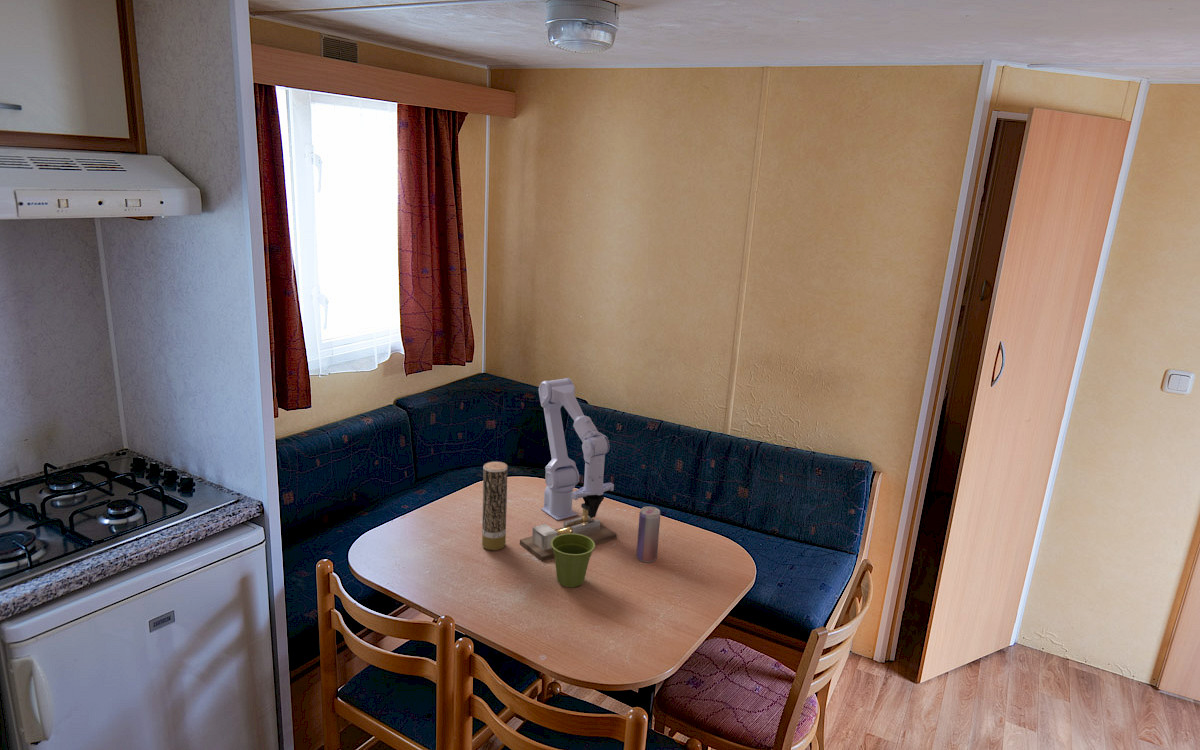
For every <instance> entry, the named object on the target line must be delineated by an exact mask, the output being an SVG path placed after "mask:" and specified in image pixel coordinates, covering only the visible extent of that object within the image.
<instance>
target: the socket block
mask: <svg viewBox="0 0 1200 750" xmlns="http://www.w3.org/2000/svg"><path fill="white" fill-rule="evenodd" d="M555 530H556V529H553V528H552V527H551V526H549V525H548V524H547V523H544V524H540V525H536V526H533V527H532V534H531V536H532V542H534V543H535V544H536V545H538V546H539V547H540V548H542V549H543V550H547V549H551V548H552V546H551V541H552V539H553V538H554V537H556V536H558V532H556V531H555Z"/></svg>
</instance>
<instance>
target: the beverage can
mask: <svg viewBox="0 0 1200 750" xmlns="http://www.w3.org/2000/svg"><path fill="white" fill-rule="evenodd" d="M638 516H639V517H638V527H637V528H638V530H637V543H636V555H635V556H636V558H637V559H638V561H641V562H642V563H653V562H654V561H656V559H657V558H658V551H659V538H660V537H659V535H660V523H661V510H660V509H659V508H657V507H654V506H651V505H650V506H643V507H642V508H640V511H639V515H638Z"/></svg>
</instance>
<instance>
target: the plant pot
mask: <svg viewBox="0 0 1200 750" xmlns="http://www.w3.org/2000/svg"><path fill="white" fill-rule="evenodd" d="M551 546H552V548H553V552H554V555H555V558H554V563H555V572H556V573H555V574H556V580H557V583H559V584H560V585H561V586H563V587H565V588H576V587H577V586H582V585H583V584H584V582H585V578H586V574H587V571H588V570H587V569H588V567H589V563H590V559H591V556H592V552H593V551H594V550H595V548H596V545H595V543H594V541H593V540H592V539H591V538H589V537H587V536H584V535H581V534H574V533H568V534H561V535H558V536H556V537H554V538H553V539H552V541H551Z"/></svg>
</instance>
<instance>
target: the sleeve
mask: <svg viewBox="0 0 1200 750" xmlns="http://www.w3.org/2000/svg"><path fill="white" fill-rule="evenodd" d="M592 519H593V518H591V517H590V516H588V522H585V523H582V516H579V517H576V518H573V519H570V520H569V519H568V520H566V521H563V527H564V528H568V527H571V533H574V534H581V535H584V536H589V535H592V534H596V533H599V529H600V523H601V520H600V519H598V518H596V519H595V518H594V520H592Z"/></svg>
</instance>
